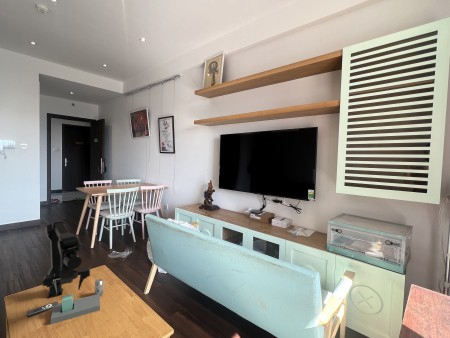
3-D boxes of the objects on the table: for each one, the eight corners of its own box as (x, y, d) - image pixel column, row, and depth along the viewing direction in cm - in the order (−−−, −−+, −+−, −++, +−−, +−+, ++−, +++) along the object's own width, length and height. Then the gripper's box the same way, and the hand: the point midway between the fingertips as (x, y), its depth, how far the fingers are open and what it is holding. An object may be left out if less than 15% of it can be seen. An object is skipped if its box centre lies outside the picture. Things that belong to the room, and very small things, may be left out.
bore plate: (53, 310, 111) (53, 305, 111) (99, 298, 121) (99, 293, 121) (50, 324, 101) (50, 319, 101) (100, 310, 112) (100, 305, 112)
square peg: (62, 311, 110) (63, 296, 110) (72, 309, 112) (72, 293, 112) (61, 316, 107) (62, 300, 106) (71, 313, 109) (72, 298, 108)
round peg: (94, 293, 125) (94, 280, 125) (102, 291, 127) (102, 278, 127) (94, 297, 122) (95, 283, 121) (103, 295, 124) (103, 281, 123)
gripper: (40, 274, 96) (40, 308, 97) (90, 264, 106) (89, 295, 107) (44, 263, 106) (44, 294, 106) (90, 255, 116) (89, 284, 116)
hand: (67, 292), depth 109 cm, fingers open, 9 cm apart
